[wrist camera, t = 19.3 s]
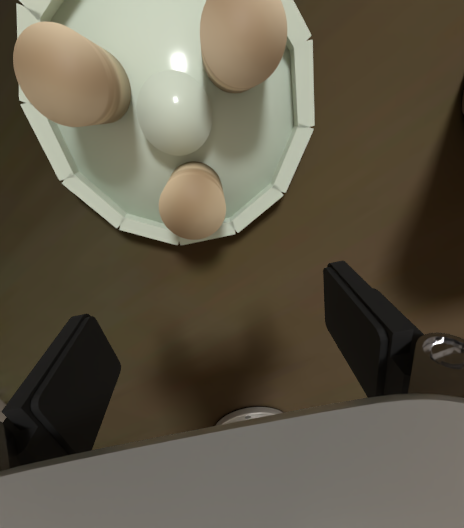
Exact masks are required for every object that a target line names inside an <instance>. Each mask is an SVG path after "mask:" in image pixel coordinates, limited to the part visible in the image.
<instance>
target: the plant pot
mask: <svg viewBox="0 0 464 528" xmlns="http://www.w3.org/2000/svg"><path fill="white" fill-rule="evenodd" d="M462 113H463V115H464V92H463V98H462Z"/></svg>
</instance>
